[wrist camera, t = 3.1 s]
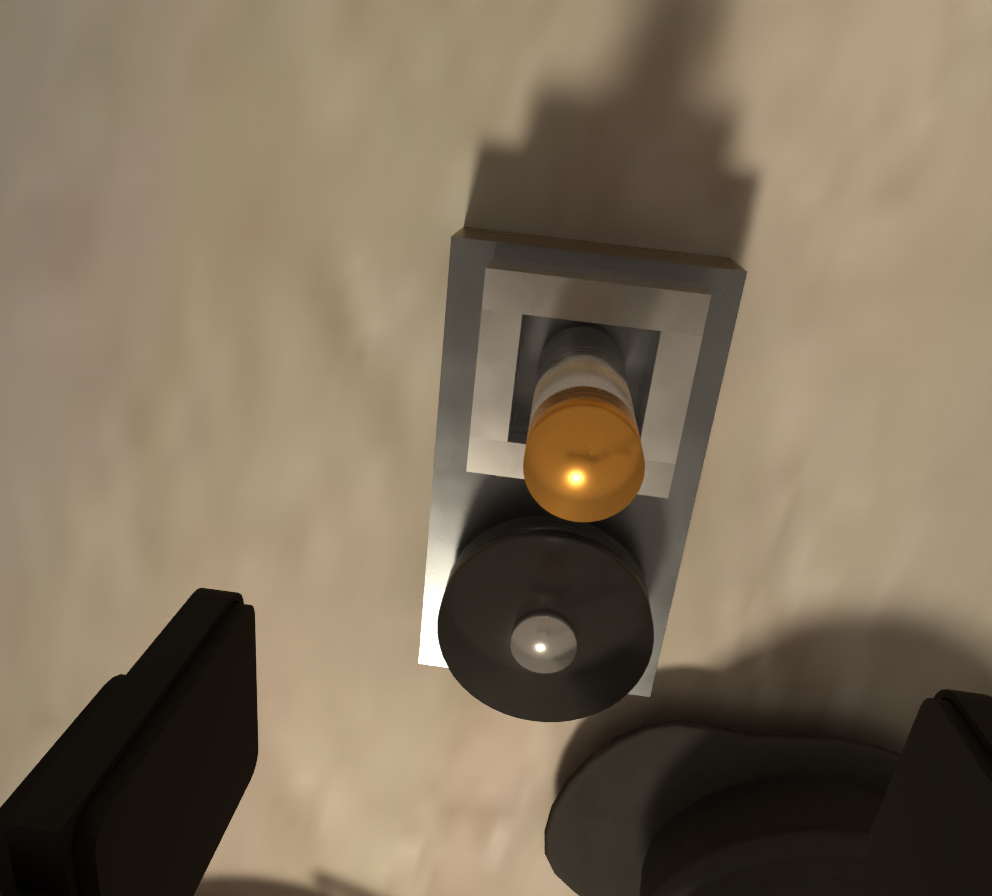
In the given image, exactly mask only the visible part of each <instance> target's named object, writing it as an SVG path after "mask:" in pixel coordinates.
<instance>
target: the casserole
mask: <svg viewBox="0 0 992 896" xmlns="http://www.w3.org/2000/svg"><path fill="white" fill-rule="evenodd" d="M900 756H901V755H900V754H897V753H895V752H892V751H889V750H887V749H884V748H882V747H879V746H875V745H870V744H865V743H860V742H855V741H850V740H845V739H840V738H829V737H805V736H780V735H754V734H749V733H744V732H739V731H734V730H729V729H724V728H719V727H715V726H709V725H702V724H696V723H690V722H683V721H677V720H676V721H669V722H662V723H655V724H648V725H643V726H641V727H639V728H636V729H634V730H632V731H630V732H628V733H625V734H623V735H621V736H619V737H616V738H615V739H613V740H612V741H610V742H609V743H608V744H606V745H605V746H603V747H602V748H601V749H599V750H598V751H596V752H595V753H594V754H592V755H591V756H589V757H588V758H587V759H586V760H585V761H584V762H583V763H582V765H581V766H580V767H579V768H578V769H577V770H576V771H575V772H574V773H573V774H572V775H571V776H570V777H569V778H568V779H567V780H566V782H565V784H564V786H563V787H562V789H561V791H560V793H559V794H558V796H557V798H556V800H555V801H554V803H553V805H552V807H551V810H550V814H549V817H548V821H547V824H546V828H545V855H546V857H547V859H548V861H549V863H550V865H551V867H552V869H553V871H554V873H555V874H556V875H557V876H558V877H559V878H560V879H561V880H562V881H563V882H564V883H565V884H566V885H568V886H569V887H570V888H571V889H572V890H573V891H574V892H575V893H577V894H578V895H579V896H881V894H880V892H879V889H878V887H877V885H876V882H875V880H874V878H873V875H872V873H871V870H870V868H869V865H868V860H867V852H866V846H867V839H868V836H869V833H870V831H871V828H872V826H873V823H874V821H875V818H876V816H877V813H878V811H879V808H880V806H881V803H882V801H883V799H884V796H885V794H886V791H887V789H888V786H889V784H890V781H891V779H892V776H893V774H894V771H895V769H896V766H897V764H898V761H899V759H900Z"/></svg>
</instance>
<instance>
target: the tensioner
mask: <svg viewBox="0 0 992 896" xmlns="http://www.w3.org/2000/svg"><path fill="white" fill-rule="evenodd" d="M746 274H747V271H746V270H745V269H743V268H742V267H741V266H739V265H738V264H737V263H735V262H734V261H733V260H731V259H730V258H722V257H714V256H705V255H697V254H688V253H679V252H671V251H662V250H654V249H645V248H637V247H628V246H620V245H611V244H603V243H594V242H586V241H577V240H568V239H560V238H551V237H543V236H534V235H526V234H517V233H509V232H500V231H492V230H483V229H475V228H466V227H463V228H462V229H460V230H459V231H458V232H457V233H455V234H454V235H453V236H451V248H450V261H449V274H448V287H447V300H446V313H445V327H444V340H443V353H442V366H441V379H440V392H439V405H438V418H437V431H436V444H435V457H434V470H433V483H432V496H431V509H430V522H429V535H428V549H427V562H426V575H425V588H424V601H423V614H422V627H421V640H420V653H419V663H420V664H427V665H434V666H441V667H448V668H449V670H450V671H451V673H452V674H453V676H454V677H455V678H456V680H457V681H458V682H459V683H460V684H461V686H462V687H463V688H465V689H466V690H467V691H468V692H469V693H470V694H471V695H472V696H474V697H475V698H476V699H478V700H479V701H481V702H482V703H484V704H486V705H487V706H489V707H491V708H493V709H495V710H497V711H499V712H502V713H504V714H507V715H510V716H513V717H516V718H520V719H525V720H530V721H540V722H562V721H571V720H575V719H580V718H584V717H587V716H590V715H593V714H596V713H598V712H601V711H603V710H605V709H607V708H609V707H610V706H612V705H613V704H615V703H617V702H618V701H620V700H621V699H622V698H623V697H624V696H626V695H627V694H632V695H638V696H645V697H650V695H651V691H652V686H653V682H654V677H655V673H656V669H657V664H658V660H659V656H660V651H661V647H662V642H663V638H664V634H665V629H666V625H667V620H668V616H669V612H670V607H671V603H672V599H673V594H674V590H675V585H676V581H677V577H678V572H679V568H680V563H681V559H682V555H683V550H684V546H685V542H686V537H687V533H688V528H689V524H690V520H691V515H692V511H693V506H694V502H695V498H696V493H697V489H698V484H699V480H700V476H701V471H702V467H703V463H704V458H705V454H706V449H707V445H708V441H709V436H710V432H711V427H712V423H713V419H714V414H715V410H716V406H717V401H718V397H719V392H720V388H721V384H722V379H723V375H724V370H725V366H726V362H727V357H728V353H729V349H730V344H731V340H732V335H733V331H734V327H735V322H736V318H737V313H738V309H739V305H740V300H741V296H742V292H743V287H744V283H745V278H746ZM575 326H587V327H593V328H596V329H598V330H600V331H603V332H604V333H606V334H607V335H608V336H609V337H611V338H612V339H613V341H614V342H615V343H616V345H617V346H618V348H619V350H620V352H621V355H622V359H623V364H624V368H625V373H626V377H627V382H628V386H629V391H630V395H631V400H632V404H633V409H634V413H635V418H636V422H637V427H638V431H639V436H640V440H641V445H642V450H643V454H644V460H645V473H644V479H643V482H642V485H641V487H640V490H639V492H638V493H637V495H636V497H635V498H634V499H633V500H632V502H631V503H630V504H629V505H628V506H627V507H625V508H624V509H623V510H621V511H620V512H619V513H617V514H615V515H613V516H611V517H609V518H606V519H603V520H599V521H594V522H574V521H569V520H565V519H562V518H559V517H557V516H555V515H553V514H551V513H549V512H548V511H546V510H545V509H544V508H543V507H541V506H540V505H539V504H538V503H537V502H536V501H535V499H534V498H533V496H532V495H531V493H530V492H529V490H528V488H527V485H526V483H525V479H524V474H523V460H524V453H525V447H526V441H527V435H528V428H529V422H530V416H531V409H532V403H533V397H534V390H535V384H536V378H537V372H538V365H539V360H540V356H541V353H542V350H543V348H544V347H545V345H546V344H547V342H548V341H549V340H550V339H551V338H552V337H553V336H554V335H556V334H557V333H559V332H560V331H562V330H564V329H567V328H570V327H575Z"/></svg>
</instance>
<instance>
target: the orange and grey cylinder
mask: <svg viewBox="0 0 992 896" xmlns="http://www.w3.org/2000/svg"><path fill="white" fill-rule="evenodd" d="M644 473H645V460H644V454H643V450H642V445H641V440H640V436H639V431H638V427H637V422H636V418H635V413H634V409H633V404H632V400H631V395H630V391H629V386H628V382H627V377H626V373H625V368H624V364H623V359H622V355H621V352H620V350H619V348H618V346H617V345H616V343H615V342H614V341H613V339H612V338H611V337H609V336H608V335H607V334H606V333H604V332H603V331H600V330H598V329H596V328H593V327H587V326H575V327H570V328H567V329H564V330H562V331H560V332H559V333H557V334H556V335H554V336H553V337H552V338H551V339H550V340H549V341H548V342H547V344H546V345H545V347H544V348H543V350H542V353H541V356H540V360H539V365H538V372H537V378H536V384H535V390H534V397H533V403H532V409H531V416H530V422H529V428H528V435H527V441H526V447H525V453H524V460H523V474H524V479H525V483H526V485H527V488H528V490H529V492H530V493H531V495H532V496H533V498H534V499H535V501H536V502H537V503H538V504H539V505H540V506H541V507H543V508H544V509H545V510H546V511H548V512H549V513H551V514H553V515H555V516H557V517H559V518H562V519H565V520H569V521H574V522H594V521H599V520H603V519H606V518H609V517H611V516H613V515H615V514H617V513H619V512H620V511H621V510H623V509H624V508H625V507H627V506H628V505H629V504H630V503H631V502H632V500H633V499H634V498H635V497H636V495H637V493H638V492H639V490H640V487H641V485H642V482H643V479H644Z"/></svg>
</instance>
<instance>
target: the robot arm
mask: <svg viewBox="0 0 992 896" xmlns="http://www.w3.org/2000/svg"><path fill="white" fill-rule="evenodd" d="M257 757H258V720H257V680H256V639H255V611H254V608H253V606H252V605H246V604H244V602H243V598H242V595H241V594H239V593H236V592H228V591H221V590H214V589H206V588H199V589H197V590H196V591H195V592H194V593H193V594H192V595H191V596H190V598H189V599H188V600H187V601H186V603H185V604H184V605H183V606H182V607H181V609H180V610H179V611H178V612H177V613H176V615H175V616H174V617H173V618H172V620H171V621H170V622H169V623H168V624H167V626H166V627H165V628H164V629H163V630H162V632H161V633H160V634H159V635H158V637H157V638H156V639H155V640H154V641H153V643H152V644H151V645H150V646H149V647H148V649H147V650H146V651H145V652H144V654H143V655H142V656H141V657H140V658H139V660H138V661H137V662H136V663H135V664H134V666H133V667H132V668H131V669H130V671H129V672H128V673H127V674H126V675H122V674H120V675H118V676H115V677H113V678H112V679H110V680H109V681H108V682H107V683H106V684H105V685H104V686H103V687H102V688H101V690H100V691H99V692H98V693H97V694H96V696H95V697H94V698H93V699H92V700H91V701H90V703H89V704H88V705H87V706H86V707H85V708H84V710H83V711H82V712H81V713H80V714H79V716H78V717H77V718H76V719H75V720H74V721H73V723H72V724H71V725H70V726H69V727H68V729H67V730H66V731H65V732H64V733H63V734H62V736H61V737H60V738H59V739H58V740H57V741H56V743H55V744H54V745H53V746H52V747H51V749H50V750H49V751H48V752H47V753H46V754H45V756H44V757H43V758H42V759H41V760H40V762H39V763H38V764H37V765H36V766H35V767H34V769H33V770H32V771H31V772H30V773H29V774H28V776H27V777H26V778H25V779H24V780H23V782H22V783H21V784H20V785H19V786H18V787H17V789H16V790H15V791H14V792H13V793H12V795H11V796H10V797H9V798H8V799H7V800H6V802H5V803H4V804H3V805H2V806H1V808H0V896H194V894H195V892H196V890H197V888H198V886H199V884H200V881H201V879H202V877H203V875H204V873H205V871H206V869H207V867H208V865H209V863H210V861H211V859H212V857H213V855H214V853H215V851H216V849H217V847H218V845H219V843H220V841H221V839H222V837H223V835H224V833H225V831H226V829H227V827H228V825H229V823H230V821H231V819H232V816H233V814H234V812H235V810H236V808H237V806H238V804H239V802H240V800H241V798H242V796H243V794H244V792H245V790H246V788H247V786H248V784H249V782H250V780H251V778H252V775H253V773H254V770H255V766H256V762H257ZM866 852H867V860H868V865H869V868H870V870H871V873H872V875H873V878H874V880H875V882H876V885H877V887H878V889H879V892H880V894H881V896H992V697H991V696H988V695H985V694H977V693H970V692H963V691H955V690H948V689H945V690H940V691H939V692H938V693H937V694H936V695H935V697H934V698H928V699H926V700H925V701H923V703H922V705H921V707H920V709H919V711H918V714H917V716H916V719H915V721H914V724H913V726H912V729H911V731H910V734H909V736H908V739H907V741H906V744H905V746H904V749H903V751H902V754H901V756H900V759H899V761H898V764H897V766H896V769H895V771H894V774H893V776H892V779H891V781H890V784H889V786H888V789H887V791H886V794H885V796H884V799H883V801H882V803H881V806H880V808H879V811H878V813H877V816H876V818H875V821H874V823H873V826H872V828H871V831H870V833H869V836H868V839H867V846H866Z"/></svg>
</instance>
